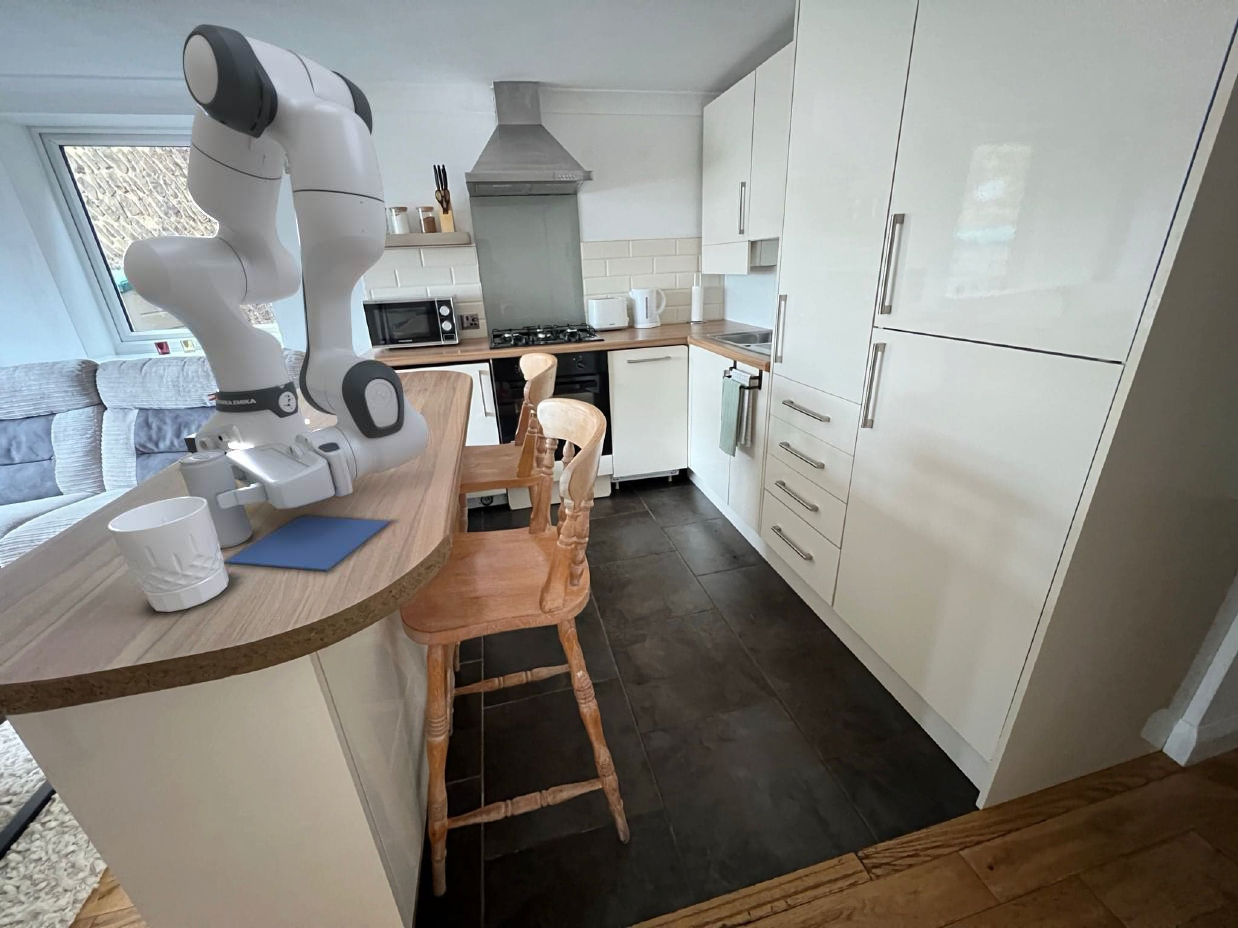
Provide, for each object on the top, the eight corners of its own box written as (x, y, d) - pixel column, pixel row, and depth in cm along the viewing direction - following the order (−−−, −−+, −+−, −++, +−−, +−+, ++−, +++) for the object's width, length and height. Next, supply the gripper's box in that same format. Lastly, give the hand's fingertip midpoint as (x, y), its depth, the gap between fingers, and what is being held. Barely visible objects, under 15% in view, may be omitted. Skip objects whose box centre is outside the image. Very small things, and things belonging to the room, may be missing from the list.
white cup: (180, 575, 59) (148, 498, 56) (250, 570, 60) (223, 494, 56) (125, 619, 52) (84, 533, 48) (205, 613, 52) (171, 527, 49)
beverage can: (230, 551, 64) (199, 463, 60) (199, 548, 65) (166, 462, 61) (262, 532, 69) (235, 449, 64) (233, 530, 70) (204, 448, 65)
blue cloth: (226, 562, 62) (225, 560, 62) (301, 517, 73) (300, 515, 73) (327, 571, 59) (326, 569, 59) (388, 523, 70) (388, 521, 70)
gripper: (287, 427, 79) (176, 453, 69) (347, 453, 67) (222, 488, 57) (298, 465, 81) (192, 495, 71) (357, 496, 69) (239, 537, 59)
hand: (205, 492), depth 64 cm, fingers open, 8 cm apart
